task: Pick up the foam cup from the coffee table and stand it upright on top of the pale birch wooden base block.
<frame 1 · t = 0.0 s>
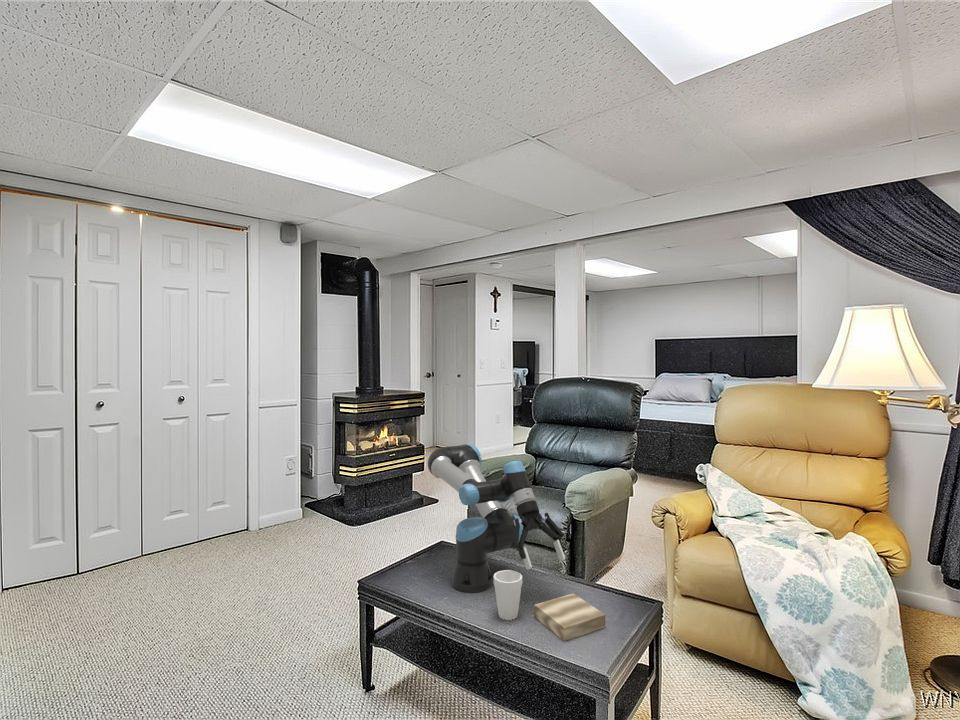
hand: (546, 564, 175), 15 cm above the table, tool tilted 35°, fingers open, 13 cm apart
foam cup: (508, 615, 172), on the table
wooden base: (569, 621, 167), on the table
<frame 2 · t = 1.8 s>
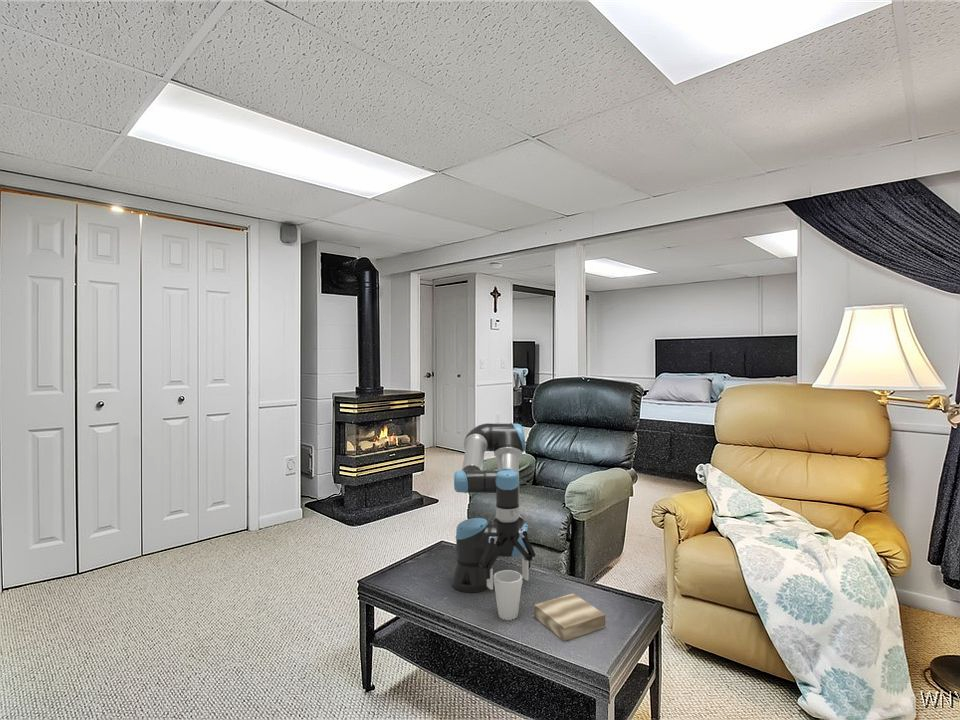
hand: (507, 583, 171), 11 cm above the table, tool pointing down, fingers open, 13 cm apart
nothing on the table moved.
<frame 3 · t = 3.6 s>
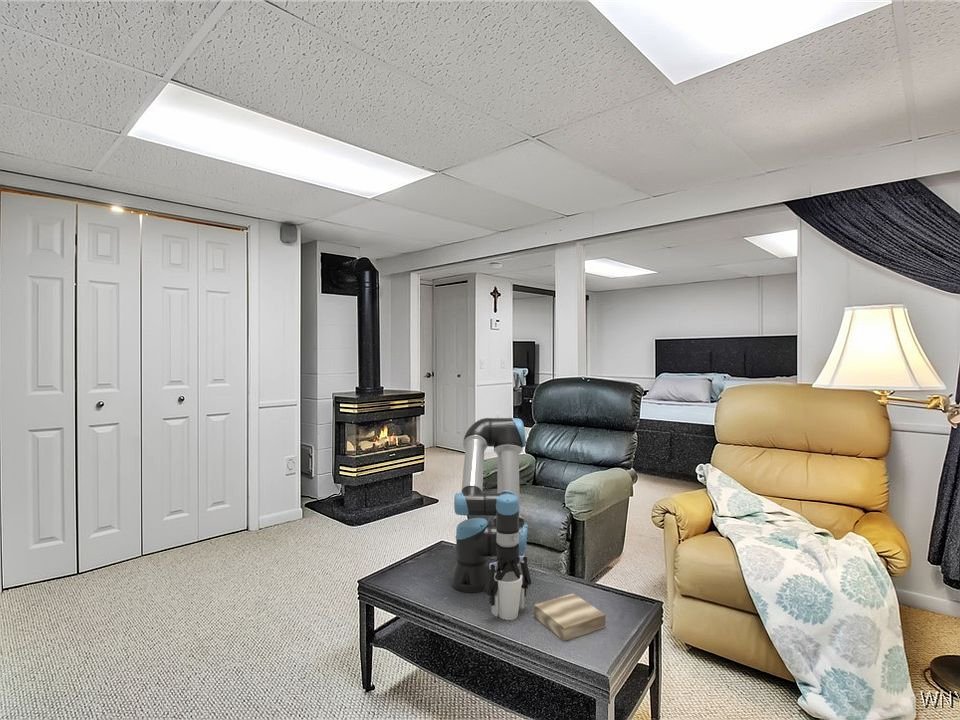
hand: (508, 610, 172), 2 cm above the table, tool pointing down, fingers closed on foam cup, 9 cm apart
foam cup: (508, 615, 172), on the table, touching gripper
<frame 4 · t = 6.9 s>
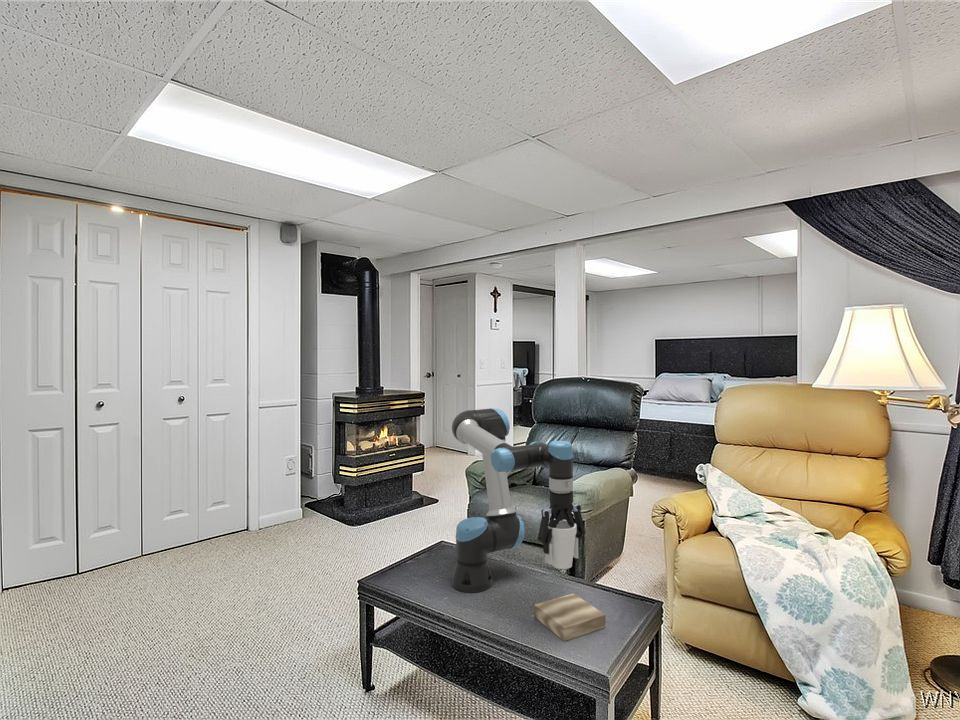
hand: (562, 560, 167), 20 cm above the table, tool pointing down, fingers closed on foam cup, 9 cm apart
foam cup: (562, 565, 167), point 18 cm above the table, touching gripper
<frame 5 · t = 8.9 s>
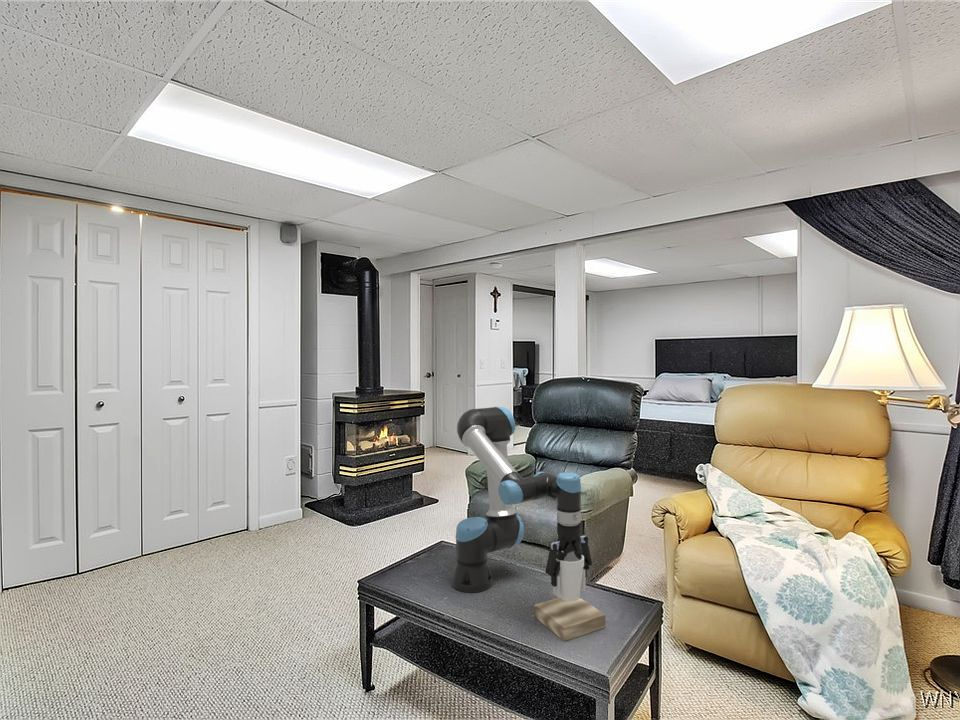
hand: (569, 591, 167), 10 cm above the table, tool pointing down, fingers closed on foam cup, 9 cm apart
foam cup: (569, 597, 167), point 8 cm above the table, touching gripper
when the fingers open (7 cm above the table, at t = 10.4 s): foam cup drops 1 cm, resting on wooden base.
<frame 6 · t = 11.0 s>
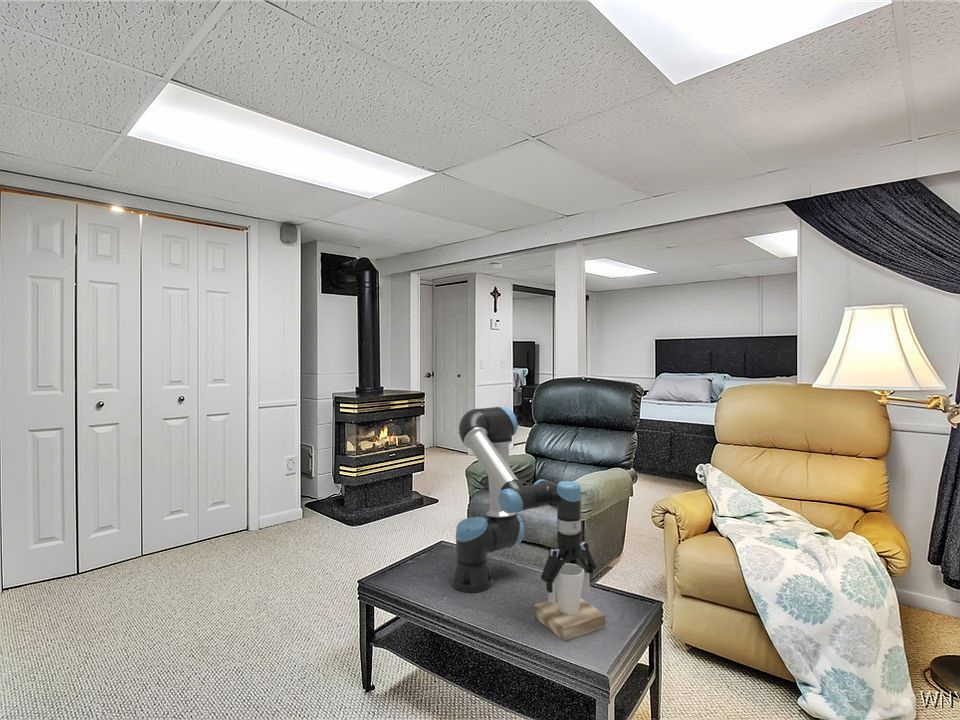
hand: (569, 596, 167), 8 cm above the table, tool pointing down, fingers open, 13 cm apart
foam cup: (569, 610, 167), point 4 cm above the table, touching wooden base
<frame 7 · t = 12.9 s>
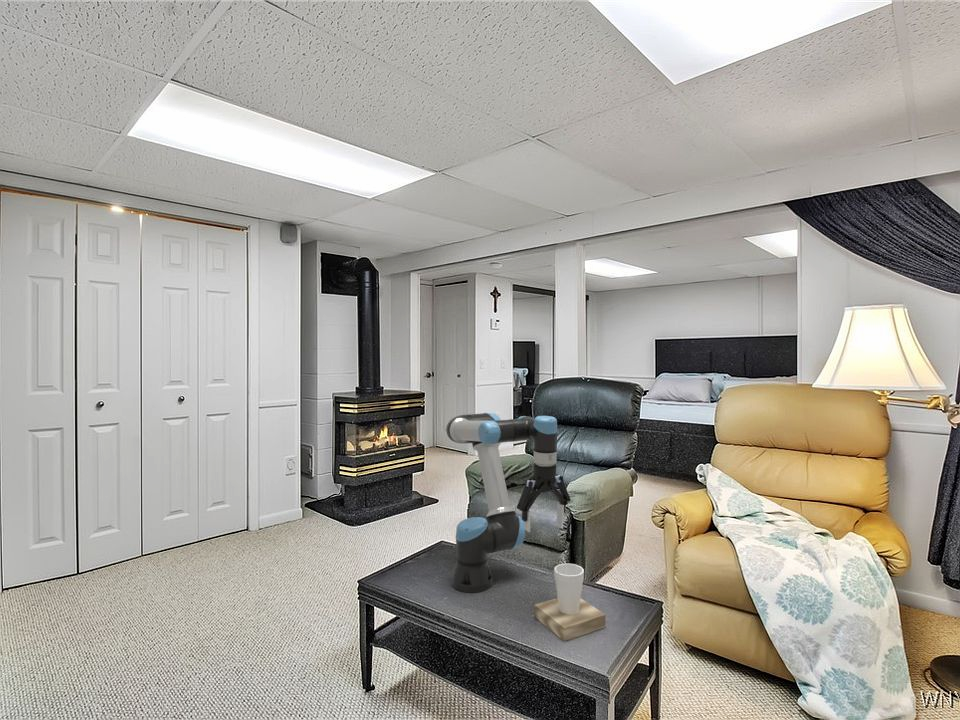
hand: (543, 526, 173), 29 cm above the table, tool pointing down, fingers open, 13 cm apart
nothing on the table moved.
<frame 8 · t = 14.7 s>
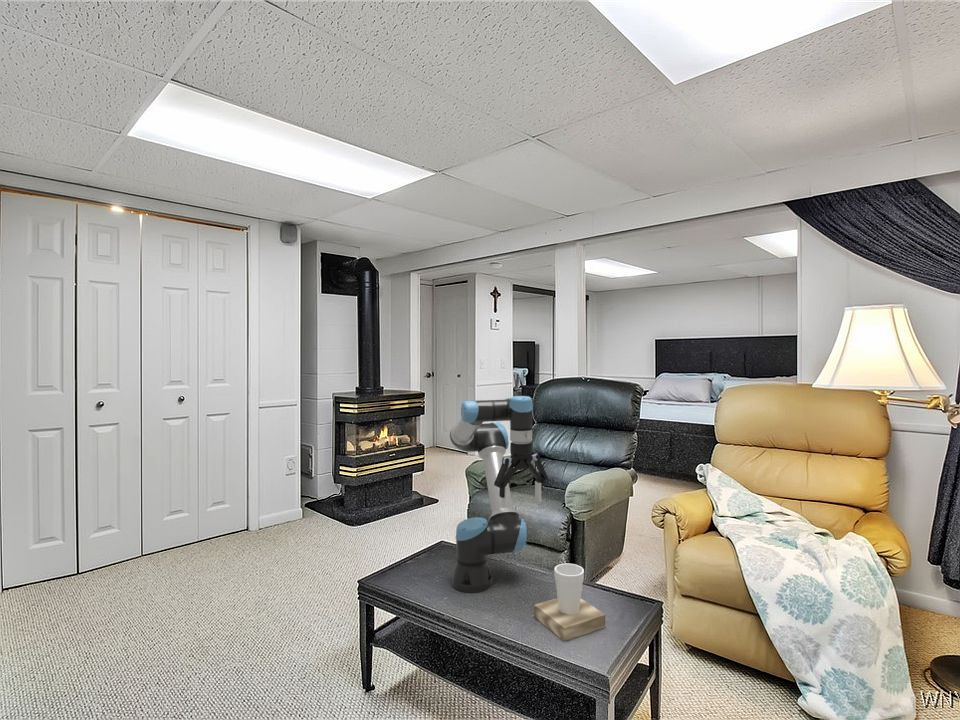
hand: (521, 503, 178), 35 cm above the table, tool pointing down, fingers open, 13 cm apart
nothing on the table moved.
at the end: foam cup inside the target area on the wooden base (0.0 cm from its centre), point 3.8 cm above the wooden base's base; foam cup tilted 0°; the gripper is holding nothing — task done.
